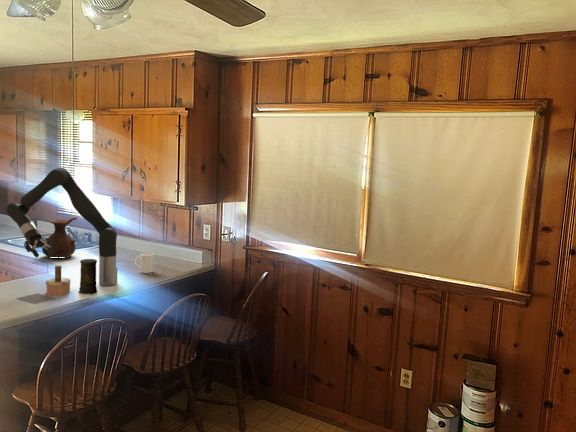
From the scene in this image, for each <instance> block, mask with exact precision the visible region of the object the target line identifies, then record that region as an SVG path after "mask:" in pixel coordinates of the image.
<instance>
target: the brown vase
mask: <svg viewBox="0 0 576 432" xmlns="http://www.w3.org/2000/svg"><path fill="white" fill-rule="evenodd" d="M78 217H79V216H78V215H75V216H73V217H71V218H70V219H65V218H64V219H62V218H61V219H52V220H50V221H49V223H50V224H53V226H54V232H53V233H51V235H49V236H48V237H47V238H49V240H50V241H51V243H52V244H53V246H52V248H51V249H52V250H53V254H52V255H50V254H49V252H48V251H47V249H45V248H42V247H41V250H42V254H43V255H45V256H46V257H47V258H48V257H58V258H59V257H67V258H69V257H70V256H72V255H73V254H74V253H75V251H76V241H77V238H72V237H71V236H70V235H69V234H67V232H66V227H67V226H68V225H70V224H71V223H72V222H73V221H74V220H77V219H78ZM44 245H45V244H44ZM44 245H43V246H44ZM46 247H47V246H46ZM68 256H69V257H68Z"/></svg>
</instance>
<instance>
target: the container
mask: <svg viewBox="0 0 576 432" xmlns="http://www.w3.org/2000/svg"><path fill="white" fill-rule="evenodd" d="M97 262H98V261H97V259H94V258H87V259H86V258H85V259H81V260H80V261H79V263H80V280H79V281H80V282H79V290H78V293H79V294H82V295H95V294H97V293H98V290H97V289H98V287H97Z"/></svg>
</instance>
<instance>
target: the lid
mask: <svg viewBox="0 0 576 432" xmlns="http://www.w3.org/2000/svg"><path fill="white" fill-rule="evenodd" d="M44 283H45V285H46V284H47V285H65V284H68V283H70V284H71V279H70V278H66V277H64V278H63V277H62V265H55V266H54V278H49V279H46V280H45V282H44Z"/></svg>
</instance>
